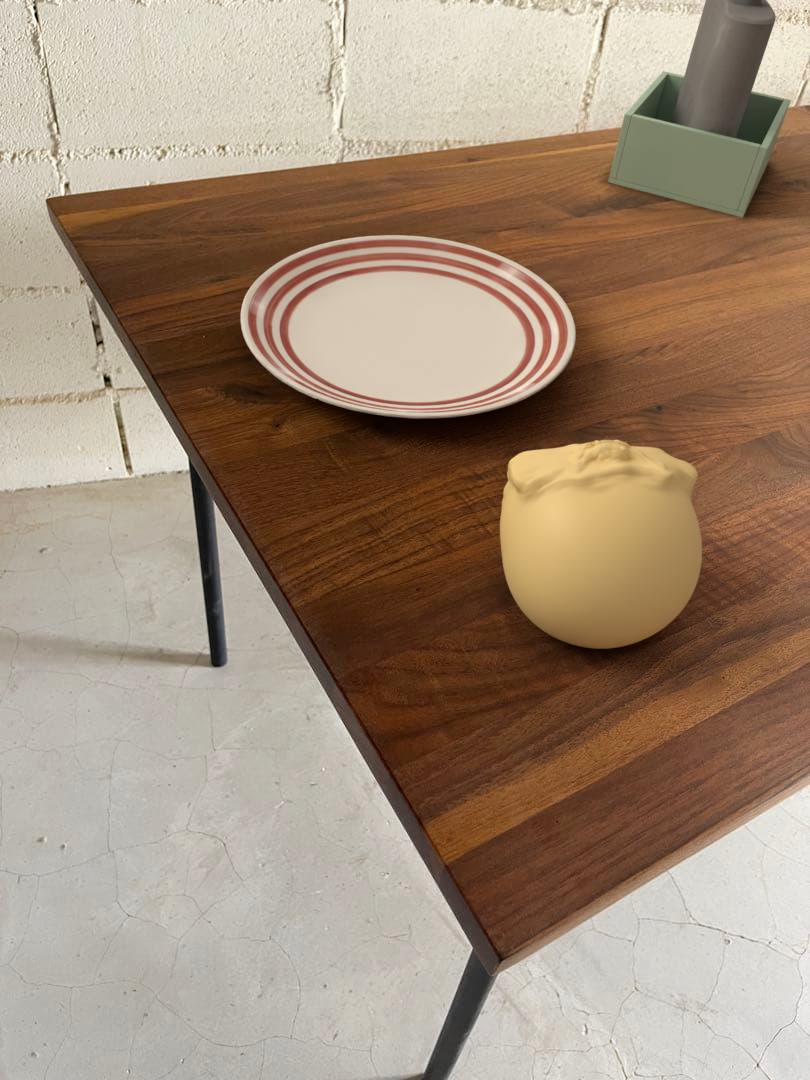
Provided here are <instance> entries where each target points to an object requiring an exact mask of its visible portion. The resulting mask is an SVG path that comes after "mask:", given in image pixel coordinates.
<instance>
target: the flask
mask: <svg viewBox="0 0 810 1080" xmlns="http://www.w3.org/2000/svg"><path fill="white" fill-rule="evenodd" d="M775 22H776V14H775V11H774V9H773V7H772V6H771V4H770V3H769V2H768V1H767V0H705V2H704V5H703V10H702V12H701V16H700V19H699V23H698V26H697V30H696V34H695V37H694V41H693V44H692V47H691V51H690V54H689V57H688V62H687V65H686V68H685V72H684V75H683V76H684V79H683V83H682V86H681V90H680V93H679V97H678V100H677V104H676V107H675V111H674V114H673V118H672V121H671V123H674V124H678V125H682V126H686V127H690V128H695V129H699V130H703V131H707V132H711V133H715V134H719V135H724V136H728V137H732V138H736V136H737V133H738V130H739V127H740V124H741V121H742V118H743V115H744V112H745V109H746V106H747V103H748V100H749V97H750V94H751V91H753V87H754V85H755V83H756V80H757V76H758V73H759V70H760V68H761V64H762V61H763V58H764V56H765V53H766V50H767V46H768V44H769V40H770V38H771V35H772V32H773V29H774V27H775Z"/></svg>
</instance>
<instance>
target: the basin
mask: <svg viewBox="0 0 810 1080" xmlns="http://www.w3.org/2000/svg"><path fill="white" fill-rule="evenodd" d="M684 76H685V75H682V74H679V73H678V74H677V73H673V72H669V71H665V70H663V71H661V73H660V74H659V75H658V76H657V77H656V78H655V80H653V82H652V83H651V84H650V85H649V87H647V88H646V90H645V91H644V92H643V93H642V94H641V96H639V98H638V99H637V100H636V101H635V102H634V104H633V105H632V106H631V107H630V108H629V109H628V110H627V111H626V112H625V113H624V116H623V119H622V124H621V128H620V132H619V135H618V140H617V145H616V149H615V152H614V157H613V161H612V163H611V169H610V172H609V177H608V180H607V181H608V182H607V183H611V184H614V185H618V186H621V187H625V188H630V189H633V190H636V191H641V192H644V193H648V194H652V195H656V196H659V197H663V198H666V199H671V200H675V201H678V202H683V203H686V204H690V205H694V206H697V207H701V208H705V209H709V210H713V211H716V212H720V213H724V214H728V215H732V216H735V217H739V218H744V216H745V214H746V212H747V209H748V207H749V205H750V203H751V201H752V199H753V197H754V195H755V192H756V191H757V188H758V185H759V183H760V181H761V179H762V177H763V175H764V173H765V171H766V168H767V166H768V164H769V162H770V158H771V157H772V153H773V150H774V148H775V145H776V142H777V140H778V137H779V135H780V131H781V129H782V126H783V124H784V120H785V118H786V115H787V112H788V109H789V108H790V104H791V102H792V101H791V99H789V98H788V99H787V98H784V97H779V96H775V95H770V94H766V93H761V92H758V91H753V90H752V91H751V94H750V97H749V100H748V103H747V106H746V109H745V112H744V115H743V118H742V121H741V124H740V127H739V130H738V133H737V136H736V138H732V137H728V136H724V135H719V134H715V133H711V132H707V131H703V130H699V129H695V128H690V127H686V126H682V125H678V124H674V123H671V121H672V118H673V114H674V111H675V107H676V104H677V100H678V97H679V93H680V90H681V86H682V83H683V79H684Z"/></svg>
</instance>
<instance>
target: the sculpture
mask: <svg viewBox="0 0 810 1080" xmlns="http://www.w3.org/2000/svg"><path fill="white" fill-rule="evenodd" d="M506 477H507V482H506V484H505V485H504V488H503V492H502V495H503V497H502V500H501V512H500V519H499V540H500V550H501V551H500V552H501V559H502V566H503V567H502V568H503V573H504V577H505V580H506V583H507V585H508V588H509V589H508V590H509V591H510V594H511V595H512V597H513V599H514V601H515V604H517V606H518V607H519V609H520V610H521V612H522V613H523V614H524V616H526V617H527V618H528V620H530V621H531V623H532V624H534V626H536V627H537V628H538V629H540V630H541V631H542V632H544V633H546V634H547V635H548V636H551V637H553V638H554V639H557V640H558V641H562V642H564V643H566V644H569V645H573V646H577V647H582V648H586V649H596V650H597V649H598V650H599V649H600V650H607V649H616V648H621V647H626V646H630V645H634V644H636V643H638V642H641V641H643V640H646V639H648V638H650V637H652V636H654V635H656V634H657V633H658V632H660V631H662V630H663V629H664V628H666V627H667V626H668V625H669V624H670V623H672V622H673V621H674V620H675V619H676V618H677V617H678V616H679V615H680V614H681V612H682V611H683V610H684V609H685V607H686V606H687V604H688V603H689V601H690V600H691V597H692V596H693V594H694V591H695V589H696V587H697V584H698V581H699V577H700V573H701V568H702V560H703V540H702V533H701V528H700V523H699V519H698V517H697V514H696V511H695V508H694V505H693V501H692V494H693V489H694V487H695V485H696V482H697V480H698V478H699V474H698V471H697V469H696V468H695V466H693V465H692V464H691V463H690V462H687V461H685V460H683V459H679V458H676V457H674V456H671V455H670V454H669V453H667V452H666V451H664V450H663V449H661V448H659V447H653V446H652V447H651V446H638V445H637V446H634V445H630V444H629V443H628V442H626V441H623V440H622V441H621V440H620V439H601V440H598V439H595V440H593V441H588V442H584V443H571V444H567V445H564V446H560V447H552V448H551V447H550V448H541V449H533V450H531V449H530V450H526V451H522V452H520V453H518V454H517V455H515V456H514V457H512V458H511V459H510V460H509V461H508V464H507V472H506Z"/></svg>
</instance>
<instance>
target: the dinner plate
mask: <svg viewBox="0 0 810 1080" xmlns="http://www.w3.org/2000/svg"><path fill="white" fill-rule="evenodd" d="M240 328H241V332H242V337H243V339H244V341H245V343H246V345H247V347H248V348H249V351H250V352H251V354H252V355H253V356H254V357H255V359H256V360H257V361H258V362H259V363H260V365H262V366H263V368H265V369H266V371H268V372H269V373H270V374H271V375H273V377H275V378H277V380H279V381H280V382H282V383H283V384H285V385H287V386H289V387H291V388H292V389H294V390H296V391H297V392H299V393H302V394H304V395H306V396H308V397H311V398H313V399H314V400H319V401H320V402H324V403H325V404H328V405H333V406H335V407H339V408H343V409H347V410H350V411H355V412H359V413H364V414H370V415H377V416H382V417H383V416H384V417H391V418H403V419H404V418H405V419H447V418H457V417H466V416H472V415H476V414H482V413H487V412H491V411H495V410H498V409H502V408H505V407H508V406H510V405H514V404H517V403H518V402H521V401H523V400H525V399H528V398H529V397H531V396H533V395H535V394H538V393H539V392H540V391H541V390H543V389H544V388H546V387H547V386H549V385H550V384H551V383H552V382H553V381H555V380H556V379H557V378H558V377H559V375H561V373H562V372H563V371H564V370H565V368H566V367H567V365H568V363H570V360H571V358H572V355H573V353H574V350H575V347H576V338H577V337H576V335H577V332H576V325H575V320H574V317H573V314H572V312H571V309H570V308H569V307H568V304H567V303H566V302H565V300H564V299H563V298H562V297H561V295H560V294H559V293H558V292H557V291H556V290H555V289H554V288H553V287H552V286H551V285H550V284H549V283H547V281H545V280H544V279H543V278H541V277H540V276H538V275H537V273H534V272H533V271H531V270H530V269H528V268H527V267H525V266H523V265H522V264H520V263H517V262H516V261H514V260H511V259H509V258H507V257H506V256H502V255H500V254H497V253H495V252H491V251H489V250H486V249H484V248H480V247H477V246H474V245H470V244H467V243H462V242H458V241H453V240H448V239H443V238H436V237H429V236H428V237H427V236H418V235H404V234H403V235H401V234H397V235H396V234H392V235H391V234H390V235H389V234H387V235H386V234H383V235H367V236H357V237H349V238H343V239H337V240H334V241H329V242H324V243H321V244H317V245H314V246H311V247H308V248H305V249H303V250H300V251H297V252H295V253H293V254H290V255H288V256H287V257H285V258H283V259H282V260H280V261H278V262H277V263H275V264H273V265H271V267H269V268H267V270H265V271H264V272H263V273H262V274H261V275H260V276H259V277H257V279H256V280H255V281H254V282H253V283H252V284H251V285H250V287H249V289H248V290H247V292H246V293H245V296H244V298H243V301H242V304H241V308H240Z"/></svg>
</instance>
